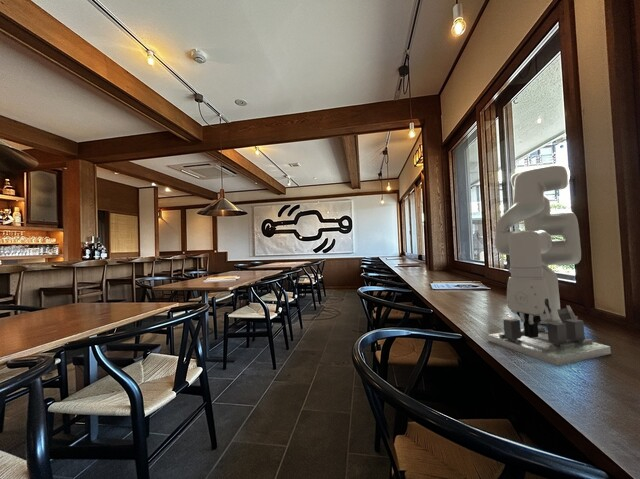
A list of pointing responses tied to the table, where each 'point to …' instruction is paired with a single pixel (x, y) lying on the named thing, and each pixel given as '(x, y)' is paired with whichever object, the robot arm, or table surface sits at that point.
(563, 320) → the electrical switch
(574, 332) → the handle near
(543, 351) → the panel
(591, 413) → the table surface
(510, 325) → the orange striped slider handle
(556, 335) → the handle middle
